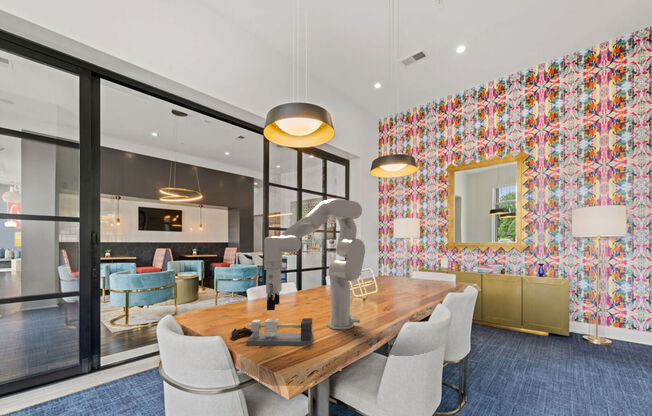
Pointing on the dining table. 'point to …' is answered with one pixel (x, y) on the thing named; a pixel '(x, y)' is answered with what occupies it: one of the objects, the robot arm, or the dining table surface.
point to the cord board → (282, 334)
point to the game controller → (241, 332)
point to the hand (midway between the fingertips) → (273, 307)
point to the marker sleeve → (271, 325)
